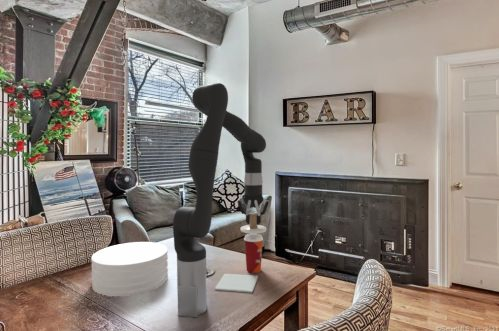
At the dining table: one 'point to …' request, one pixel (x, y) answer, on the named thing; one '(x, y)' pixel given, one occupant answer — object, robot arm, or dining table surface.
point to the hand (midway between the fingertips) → (253, 223)
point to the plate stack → (129, 268)
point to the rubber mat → (237, 283)
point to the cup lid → (253, 225)
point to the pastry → (210, 270)
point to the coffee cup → (253, 252)
